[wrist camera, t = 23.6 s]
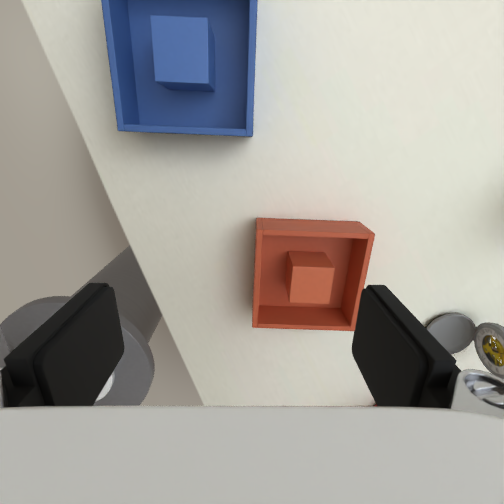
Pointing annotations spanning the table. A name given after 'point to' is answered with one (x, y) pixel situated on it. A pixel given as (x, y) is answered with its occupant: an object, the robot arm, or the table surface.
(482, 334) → the pocket watch
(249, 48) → the blue bin
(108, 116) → the table surface
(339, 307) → the terracotta bin
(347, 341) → the table surface
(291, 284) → the terracotta block
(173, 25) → the blue block
